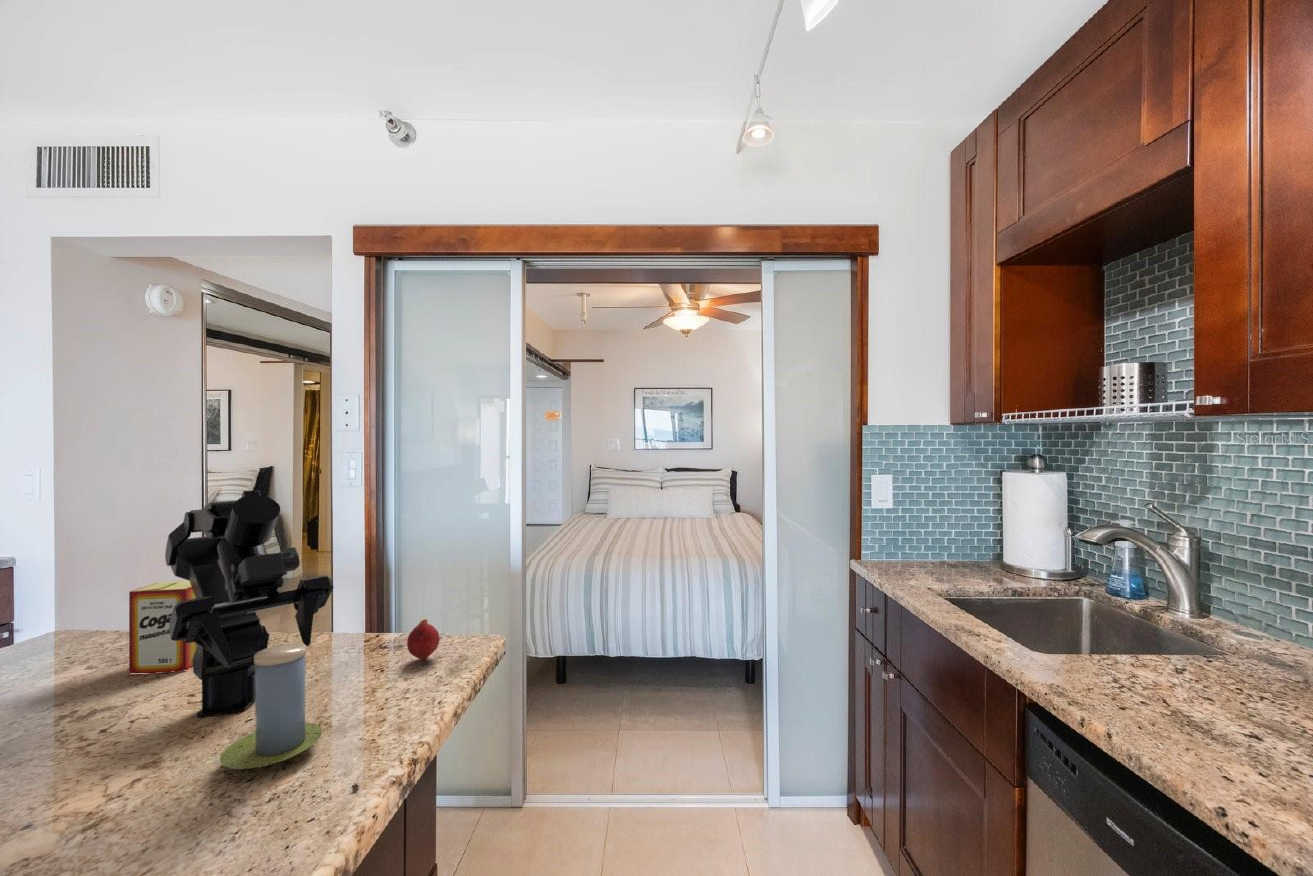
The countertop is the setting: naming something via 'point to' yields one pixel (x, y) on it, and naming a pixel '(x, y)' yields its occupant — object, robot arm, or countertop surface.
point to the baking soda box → (157, 629)
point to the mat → (246, 756)
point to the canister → (280, 698)
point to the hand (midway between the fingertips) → (270, 655)
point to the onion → (423, 640)
